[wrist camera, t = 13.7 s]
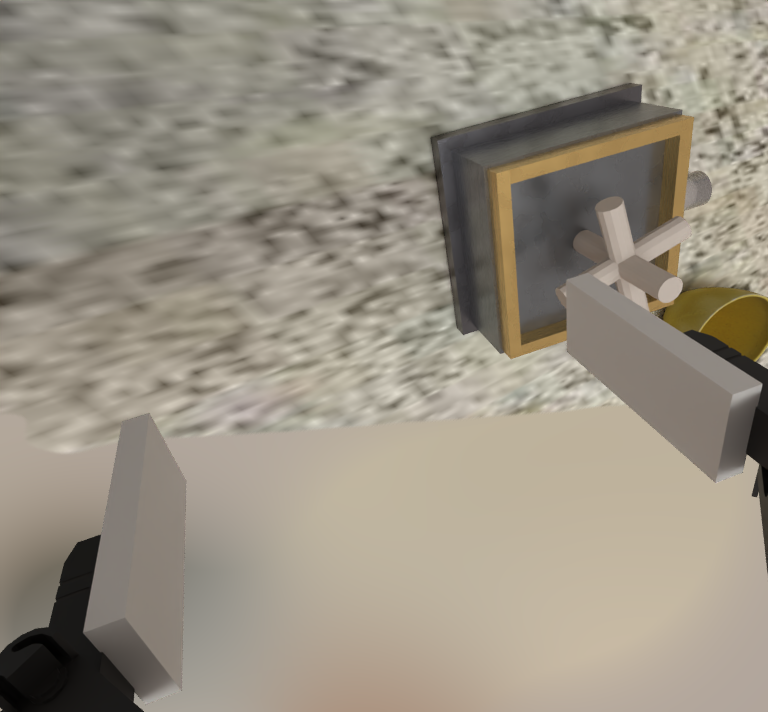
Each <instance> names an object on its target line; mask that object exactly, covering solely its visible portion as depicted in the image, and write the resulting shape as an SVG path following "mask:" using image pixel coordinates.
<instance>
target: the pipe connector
mask: <svg viewBox="0 0 768 712" xmlns="http://www.w3.org/2000/svg"><path fill="white" fill-rule="evenodd" d="M595 211H596V215H597V218H598V222H599V226H600V229H601V233H602V237H603V238H602V237H600V236H599V235H597V234H595V233H593V232H591V231H589V230H583V231H581V232H579V233H578V234H577V235H576V237H575V238H574V241H573V247H574V249H575V250H576V251H577V252H579V253H580V254H582V255H584V256H585V257H587V258H589V259H590V260H592V261H594V262H596V263H597V264H596V265H594V266H592V267H591V268H589V269H587V270H586V271H584V272H583V273H581V274H579V275H582V274H586V273H589V274H591V275H592V276H594V277H595V278H597V279H598V280H600V281H602V282H603V283H605V284H606V285H608V286H609V285H611V284H613V283H614V282H615V285H616V288H617V292H619V293H621V294H622V295H624V296H625V297H627V298H628V299H630V300H632V301H633V302H635V303H636V304H638V305H639V306H641V307H643V308H644V309H646V310H647V311H649V307H648V303H647V298H646V294H645V292H646V293H647V294H649V295H651V296H652V297H654V298H656V299H657V300H659V301H661V302H663V303H669V302H671V301H673V300H674V299H676V298H677V297H678V296H679V294H680V293H681V291H682V287H683V282H682V280H681V279H680V278H678V277H676V276H675V275H673V274H671V273H669V272H667V271H665V270H663V269H661V268H659V267H657V266H656V265H654V264H652V263H650V262H649V261H651V260H653V259H654V258H656V257H658V256H659V255H661V254H663V253H664V252H666V251H668V250H669V249H671V248H673V247H674V246H676V245H678V244H679V243H681V242H683V241H684V240H686V239H687V238H689V237H690V236H691V228H690V225H689V224H688V222H687V221H686V220H685V219H684V218H682V217H681V216H676V217H674V218H672V219H671V220H669V221H667V222H666V223H664V224H662V225H661V226H659V227H657V228H656V229H654V230H652V231H651V232H649V233H647V234H646V235H644V236H642V237H641V238H639V239H637V240H636V241H634V242H633V239H632V235H631V230H630V226H629V222H628V218H627V213H626V209H625V205H624V201H623V199H622V198H621V197H617V196H614V197H608V198H606V199H603V200H601V201H600V202H599V203H597V204H596V207H595ZM579 275H578V276H579ZM555 291H556V295H557V297H558V299H559V301H560V302H561V304H562V305H563V306H564V307H565V308H566V283H564V284H563V285H561V286H559V287H558V288H556V290H555ZM649 312H650V311H649Z"/></svg>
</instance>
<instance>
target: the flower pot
mask: <svg viewBox="0 0 768 712" xmlns="http://www.w3.org/2000/svg"><path fill="white" fill-rule="evenodd" d="M663 321H665V322H666V323H668V324H669V325H671V326H672V327H674V328H676V329H677V330H679V331H680V332H682V333H684V332H686V331H689V330H695V331H698V332H701V333H705V334H708V335H711V336H713V337H715V338H717V339H718V340H720V341H722V342H723V343H725V344H727V345H728V347H729V348H731V347H732V348H733V349H735V350H737V351H738V352H740V353H741V355H742V356H744V355H745V356H746V357H748V358H750V359H751V360H753V361H755V362H756V361H757V359H758V358H759V357H760V356H761V355H762V354H763V352H764V351H765V350H766V348H767V346H768V297H766V296H764V295H761V294H757V293H754V292H750V291H746V290H740V289H734V288H720V287H713V288H699V289H694V290H689V291H685V292H683V293H681V294H679V296H678V297H677V298H676V299H674V304H673V305H670V306H667V308H666V310H665V312H664V315H663Z"/></svg>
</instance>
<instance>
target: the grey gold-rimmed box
mask: <svg viewBox="0 0 768 712" xmlns="http://www.w3.org/2000/svg"><path fill="white" fill-rule="evenodd" d="M641 92H642V85H640V84H633V83H629V84H625V85H622V86H618V87H614V88H611V89H607V90H603V91H600V92H596V93H592V94H589V95H585V96H581V97H578V98H574V99H570V100H567V101H563V102H559V103H555V104H552V105H548V106H544V107H541V108H537V109H533V110H530V111H526V112H522V113H519V114H515V115H511V116H508V117H504V118H500V119H497V120H493V121H489V122H486V123H482V124H478V125H475V126H471V127H467V128H464V129H460V130H456V131H453V132H449V133H445V134H442V135H438V136H434V137H431V142H432V149H433V156H434V163H435V171H436V178H437V185H438V192H439V200H440V207H441V214H442V221H443V228H444V236H445V243H446V250H447V257H448V265H449V272H450V279H451V286H452V294H453V301H454V308H455V315H456V323H457V328H458V329H459V330H460V332H461V333H462V334H463V335H464V334H468V333H471V332H474V331H477V330H479V331H480V332H481V333H482V334H483V335H484V336H485V338H486V339H487V340H488V341H489V342H490V343H491V344H492V345H493V346H494V347H495V348H496V349H497V351H498V352H499V353H500V354H501V353H504V352H505V353H506V354H507V355H508V356H509V357H510V359H513V358H515V357H518V356H521V355H524V354H527V353H530V352H533V351H536V350H539V349H542V348H545V347H548V346H551V345H554V344H557V343H560V342H563V341H566V340H567V309H566V308H565V307H564V306H563V305H562V304H561V302H560V301H559V299H558V297H557V295H556V291H555V290H556V288H558V287H559V286H561V285H563V284H564V283H566V280H567V279H570V278H573V277H576V276H578V275H579V274H581V273H583V272H584V271H586V270H587V269H589V268H591V267H592V266H594V265H596V264H597V263H596V262H594V261H592V260H590V259H589V258H587V257H585V256H584V255H582V254H580V253H579V252H577V251H576V250H575V249H574V247H573V241H574V238H575V237H576V235H577V234H578V233H579V232H581V231H583V230H589V231H591V232H593V233H595V234H597V235H599V236H600V237H602V233H601V229H600V226H599V222H598V218H597V215H596V211H595V207H596V204H597V203H599V202H600V201H601V200H603V199H606V198H608V197H614V196H617V197H621V198H622V199H623V201H624V205H625V209H626V213H627V218H628V222H629V226H630V230H631V235H632V239H633V242H634V241H636V240H637V239H639V238H641V237H642V236H644V235H646V234H647V233H649V232H651V231H652V230H654V229H656V228H657V227H659V226H661V225H662V224H664V223H666V222H667V221H669V220H671V219H672V218H674V217H676V216H681V217H682V218H683V214H684V211H685V210H688V209H692V208H695V207H698V206H701V205H704V204H706V203H707V202H708V201H709V199H710V197H711V193H712V187H711V182H710V180H709V178H708V176H707V175H706V174H705V173H703V172H701V171H694V172H690V173H688V168H689V158H690V149H691V140H692V130H693V121H694V117H691V116H685V115H682V110H680V109H674V108H669V107H663V106H657V105H652V104H646V103H641ZM602 238H603V237H602ZM679 252H680V243H679V244H678V245H676V246H674V247H673V248H671V249H669V250H668V251H666V252H664V253H663V254H661V255H659V256H658V257H656V258H654V259H653V260H651V261H649V262H650V263H652V264H654V265H656V266H657V267H659V268H661V269H663V270H665V271H667V272H669V273H671V274H673V275H675V276H676V277H677V270H678V261H679ZM609 286H610V287H611V288H613V289H614V290H616V291H617V288H616V285H615V282H614V283H613V284H611V285H609ZM645 294H646V298H647V303H648V307H649V311H650V312H652V311H655V310H658V309H661V308H664V307H667V306H670V305H673V304H674V300H673V301H671V302H669V303H663V302H661V301H659V300H657V299H656V298H654V297H652V296H651V295H649V294H647V293H646V292H645Z"/></svg>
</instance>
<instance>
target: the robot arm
mask: <svg viewBox="0 0 768 712" xmlns="http://www.w3.org/2000/svg"><path fill="white" fill-rule="evenodd" d="M566 309H567V352H568V353H569V354H570V355H571V356H572V357H574V358H575V359H576V360H577V361H578V362H579V363H580V364H581V365H583V366H584V367H585V368H586V369H587V370H588V371H589V372H591V373H592V374H593V375H594V376H595V377H596V378H597V379H598V380H600V381H601V382H602V383H603V384H604V385H605V386H606V387H607V388H609V389H610V390H611V391H612V392H613V393H614V394H615V395H617V396H618V397H619V398H620V399H621V400H622V401H623V402H624V403H626V404H627V405H628V406H629V407H630V408H631V409H632V410H634V411H635V412H636V413H637V414H638V415H639V416H640V417H641V418H643V419H644V420H645V421H646V422H647V423H648V424H649V425H650V426H652V427H653V428H654V429H655V430H656V431H657V432H658V433H660V434H661V435H662V436H663V437H664V438H665V439H666V440H668V441H669V442H670V443H671V444H672V445H673V446H674V447H675V448H676V449H678V450H679V451H680V452H681V453H682V454H683V455H684V456H686V457H687V458H688V459H689V460H690V461H691V462H693V464H695V465H696V466H697V467H698V468H699V469H700V470H701V471H703V472H704V473H705V474H706V475H707V476H708V477H709V478H710V479H712V480H713V481H714V482H715V483H717V482H720V481H722V480H725V479H727V478H730V477H732V476H735V475H738V474H740V473H743V468H744V464H745V460H746V455H749V456H750V457H751V458H753V459H754V460H755V461H756V462H758V463H759V469H758V473H757V477H756V481H755V484H754V489H753V493H752V496H753V497H757V496H758V492H759V498H760V507H761V516H762V526H763V535H764V544H765V554H766V563H767V572H768V369H766V368H765V367H763V366H761V365H760V364H758V363H756V362H755V361H753V360H751V359H750V358H748V357H746V356H745V355H744V356H742V355H741V353H740V352H738V351H737V350H735V349H733V348H732V347H731V348H729V347H728V345H727V344H725V343H723V342H722V341H720V340H718V339H717V338H715V337H713V336H711V335H708V334H705V333H701V332H698V331H695V330H689V331H686V332H684V333H682V332H680V331H679V330H677V329H676V328H674V327H672V326H671V325H669V324H668V323H666V322H665V321H663V320H661V319H660V318H658V317H657V316H655V315H654V314H652V313H650V312H649V311H647V310H646V309H644V308H643V307H641V306H639V305H638V304H636V303H635V302H633V301H632V300H630V299H628V298H627V297H625V296H624V295H622V294H621V293H619V292H617V291H616V290H614V289H613V288H611V287H610V286H608V285H606V284H605V283H603V282H602V281H600V280H598V279H597V278H595V277H594V276H592V275H591V274H589V273H586V274H582V275H579V276H576V277H573V278H570V279H567V280H566ZM185 512H186V480H185V478H184V476H183V474H182V472H181V470H180V468H179V467H178V465H177V463H176V461H175V459H174V457H173V456H172V454H171V452H170V450H169V448H168V447H167V445H166V443H165V441H164V439H163V437H162V435H161V433H160V432H159V430H158V428H157V426H156V424H155V422H154V421H153V419H152V417H151V415H150V413H148V414H145V415H141V416H138V417H135V418H132V419H129V420H126V421H123V422H122V425H121V431H120V436H119V442H118V447H117V452H116V458H115V463H114V468H113V474H112V479H111V485H110V490H109V495H108V501H107V506H106V512H105V518H104V522H103V528H102V533H101V535H98V536H95V537H92V538H89V539H87V540H84V541H81V542H78V543H77V544H76V546H75V547H74V549H73V550H72V552H71V553H70V555H69V556H68V558H67V560H66V561H65V563H64V566H63V570H62V574H61V579H60V586H59V587H58V591H57V595H56V602H55V603H54V607H53V611H52V615H51V619H50V623H49V627H46V628H38V629H34V630H32V631H30V632H27V633H25V634H23V635H21V636H20V637H18V638H17V639H16V640H14V641H13V642H12V643H10V644H9V645H8V646H7V647H6V648H5V649H4V650H3V651H2V652H1V653H0V708H1V709H2V711H1V712H144V711H143V710H142V709H140V708H139V707H138V706H137V705H136V704H135V703H134V702H133V701H134V692H135V693H136V694H137V695H138V697H139V698H140V699H141V700H142V701H143V702H144V703H145V704H149V703H151V702H154V701H157V700H159V699H162V698H164V697H167V696H169V695H172V694H175V693H177V692H180V691H182V654H183V650H182V649H183V609H184V607H183V606H184V562H185V515H186V514H185Z"/></svg>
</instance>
